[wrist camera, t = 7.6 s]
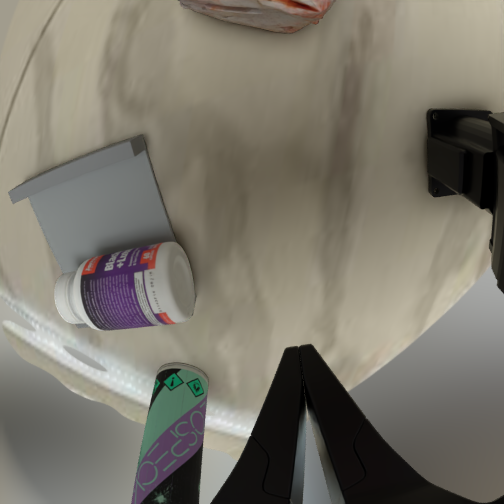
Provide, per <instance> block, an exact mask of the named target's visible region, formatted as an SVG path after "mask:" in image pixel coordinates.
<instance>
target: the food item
mask: <svg viewBox="0 0 504 504" xmlns="http://www.w3.org/2000/svg"><path fill="white" fill-rule="evenodd" d="M178 1H180V5H181V6H182V7H183V8H186V9H191V10H193V11H196V12H199V13H202V14H205V15H209V16H212V17H215V18H217V19H220V20H223V21H228V22H233V23H237V24H241V25H246V26H252V27H257V28H261V29H266V30H270V31H274V32H282V33H294V32H295V31H298V30H300V29H301V28H303V27H304V26H306V25H309V24H310V23H312V24H317V23H318V22H319V19H322V18H323V15H324V14H325V13H326V12H327V11H328V10H329V9H330V8H331V6H332V4H333V3H334V1H335V0H178Z"/></svg>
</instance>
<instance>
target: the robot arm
mask: <svg viewBox="0 0 504 504" xmlns="http://www.w3.org/2000/svg"><path fill="white" fill-rule="evenodd" d="M434 113H435V115H436V117H435V119H433V114H434ZM488 116H489V117H488ZM487 117H488V118H487ZM427 122H428V140H427V149H428V173H429V193H430V194H431V195H432V196H433V197H442V196H449V195H456V194H459V195H462V196H464V197H465V198H466V199H468V200H469V201H471V202H472V203H473V204H475V205H476V206H477V207H479V208H480V209H485V210H486V211H487V212H489V213H490V214H491V215H493V222H492V235H491V239H490V242H489V249H490V251H491V253H492V257H491V263H492V270H493V272H494V274H495V277H496V279H497V286H498V288H499V289H500V290H501V291H502V292H503V293H504V112H502V113H494V114H493V113H492V112H491V111H487V110H474V109H430V110H429V111H428V113H427ZM435 188H437V189H436V191H435V192H434V189H435ZM299 352H300V353H299ZM300 360H301V361H300ZM301 367H302V368H301ZM302 375H303V376H302ZM303 382H304V383H303ZM304 390H305V391H304ZM305 398H306V399H305ZM306 405H307V410H308V415H309V418H310V422H311V425H312V430H313V434H314V437H315V441H316V445H317V449H318V452H319V456H320V460H321V464H322V468H323V472H324V476H325V480H326V484H327V487H328V491H329V495H330V499H331V503H332V504H504V495H503V496H501V497H499V498H497V499H495V500H494V501H492V502H488V503H479V502H475V501H472V500H470V499H467V498H464V497H462V496H460V495H457V494H455V493H452V492H450V491H448V490H445V489H443V488H441V487H439V486H436V485H434V484H432V483H430V482H429V481H427V480H426V479H425V478H423V477H422V476H421V475H420V474H418V473H417V472H416V471H415V470H414V469H413V468H412V467H411V466H410V465H409V464H408V463H407V462H406V461H405V460H404V459H403V458H402V457H401V456H400V455H398V454H397V453H396V451H394V450H393V449H392V447H391V446H389V444H388V443H387V442H386V441H385V440H384V439H383V438H382V437H381V435H380V434H379V433H378V432H377V430H376V429H375V428H374V427H373V426H372V424H371V423H370V421H369V420H368V419H366V416H365V415H364V414H363V412H362V411H361V410H360V408H359V407H358V406H357V404H356V403H355V402H354V400H353V399H352V397H351V396H350V395H349V393H348V392H347V391H346V389H345V388H344V387H343V385H342V384H341V383H340V381H339V380H338V379H337V377H336V376H335V375H334V373H333V372H332V371H331V369H330V368H329V366H328V365H327V364H326V362H325V361H324V360H323V358H322V357H321V356H320V354H319V353H318V352H317V350H316V349H315V348H314V346H313V345H312V344H306V345H301V346H299V347H298V346H293V347H287V348H286V349H285V350H284V353H283V356H282V358H281V361H280V363H279V366H278V369H277V371H276V374H275V376H274V379H273V381H272V384H271V387H270V389H269V392H268V394H267V397H266V399H265V401H264V404H263V406H262V409H261V411H260V414H259V416H258V418H257V421H256V423H255V426H254V428H253V430H252V433H251V436H250V437H249V439H248V442H247V444H246V446H245V448H244V450H243V452H242V454H241V456H240V458H239V460H238V462H237V464H236V465H235V467H234V469H233V470H232V472H231V474H230V475H229V477H228V478H227V480H226V481H225V483H224V484H223V486H222V487H221V489H220V490H219V492H218V493H217V495H216V496H215V498H214V499H213V500H212V502H211V503H210V504H302V503H303V488H304V470H305V469H304V468H305V445H306Z"/></svg>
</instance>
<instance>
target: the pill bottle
mask: <svg viewBox="0 0 504 504" xmlns="http://www.w3.org/2000/svg"><path fill="white" fill-rule="evenodd" d="M55 303H56V306H57V309H58V312H59V313H60V315H61V317H62V318H63V319H64V320H65V321H67V322H69V323H72V324H81V323H86V324H87V325H88V326H90V327H91V328H93V329H96V330H101V331H105V330H118V329H129V328H138V327H148V326H157V325H167V324H175V323H181V322H185V321H188V320H189V319H190V318H191V316H192V314H193V311H194V306H195V291H194V282H193V276H192V272H191V267H190V264H189V261H188V258H187V256H186V254H185V252H184V250H183V249H182V247H181V246H180V245H179V244H177V243H176V242H165V243H159V244H154V245H149V246H144V247H139V248H134V249H130V250H125V251H120V252H116V253H111V254H107V255H101V256H97V257H93V258H90V259H88V260H86V261H84V262H83V263H82V264H81V265H80V267H79V268H78V270H77V271H72V272H67V273H64V274H62V275H61V276H60V277H59V278H58V280H57V282H56V286H55Z"/></svg>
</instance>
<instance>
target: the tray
mask: <svg viewBox="0 0 504 504" xmlns="http://www.w3.org/2000/svg"><path fill="white" fill-rule="evenodd" d="M8 193H9V196H10V198H11V201H12V203H13V204H14V203H16V202H18V201H20V200H23V199H25V198H27V197H28V198H29V200H30V203H31V205H32V208H33V210H34V212H35V215H36V217H37V220H38V222H39V224H40V226H41V229H42V231H43V233H44V235H45V237H46V240H47V242H48V244H49V246H50V248H51V250H52V252H53V254H54V256H55V258H56V260H57V262H58V264H59V266H60V268H61V270H62V272H63V274H64V273H67V272H72V271H77V270H78V268H79V267H80V265H81V264H82V263H83V262H84V261H86V260H88V259H90V258H93V257H97V256H101V255H107V254H111V253H116V252H120V251H125V250H130V249H134V248H139V247H144V246H149V245H154V244H159V243H165V242H176V239H175V236H174V233H173V230H172V228H171V225H170V222H169V219H168V216H167V213H166V210H165V207H164V204H163V201H162V197H161V194H160V191H159V188H158V185H157V182H156V179H155V175H154V172H153V169H152V166H151V162H150V159H149V156H148V152H147V149H146V145H145V142H144V138H143V135H139V136H136V137H133V138H130V139H127V140H124V141H121V142H118V143H115V144H112V145H109V146H107V147H104V148H101V149H99V150H96V151H93V152H91V153H88V154H86V155H83V156H81V157H78V158H76V159H73V160H71V161H69V162H66V163H64V164H61V165H59V166H57V167H55V168H52V169H50V170H48V171H46V172H44V173H41V174H39V175H37V176H35V177H33V178H31V179H29V180H27V181H25V182H23V183H22V184H20V185H18V186H17V187H15V188H14V189H12V190H10V191H9V192H8ZM176 243H177V242H176ZM195 301H196V294H195ZM192 316H193V314H192ZM76 326H77V327H78V328H84V327H90V326H88V325H87V324H86V323H81V324H76Z"/></svg>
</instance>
